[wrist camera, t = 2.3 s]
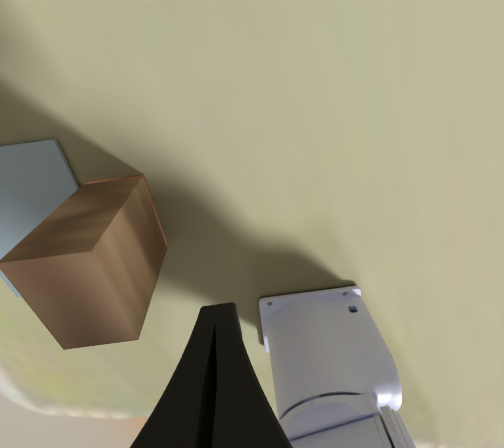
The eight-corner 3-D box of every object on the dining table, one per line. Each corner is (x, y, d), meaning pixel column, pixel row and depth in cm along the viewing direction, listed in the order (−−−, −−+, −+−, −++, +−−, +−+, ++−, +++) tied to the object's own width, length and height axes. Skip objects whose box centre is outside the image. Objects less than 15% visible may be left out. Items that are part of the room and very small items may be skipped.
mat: (56, 138, 17) (53, 140, 17) (124, 280, 23) (123, 283, 23) (-89, 157, 17) (-94, 159, 17) (19, 294, 23) (17, 297, 23)
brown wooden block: (144, 174, 19) (91, 251, 12) (167, 245, 22) (138, 339, 15) (85, 182, 19) (-5, 263, 11) (118, 251, 22) (63, 349, 15)
